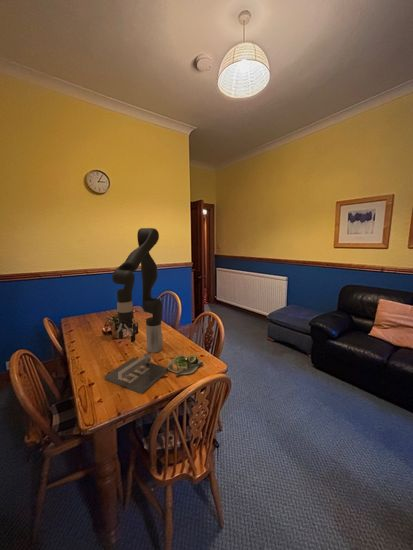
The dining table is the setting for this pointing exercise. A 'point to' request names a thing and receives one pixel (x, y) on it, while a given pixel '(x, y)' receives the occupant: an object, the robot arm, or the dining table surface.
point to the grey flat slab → (138, 376)
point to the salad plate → (184, 364)
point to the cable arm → (134, 366)
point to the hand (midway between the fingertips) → (126, 340)
